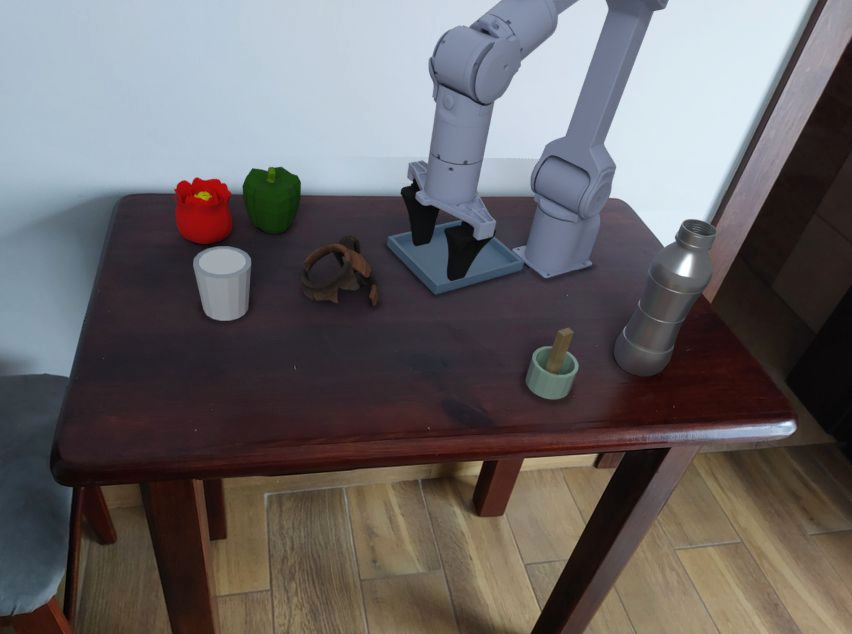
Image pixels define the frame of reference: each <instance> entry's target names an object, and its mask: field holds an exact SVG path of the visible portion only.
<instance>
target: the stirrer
mask: <svg viewBox="0 0 852 634" xmlns="http://www.w3.org/2000/svg"><path fill="white" fill-rule="evenodd" d="M574 333H575V332H574V331H573V330H572V329H571V328H570V327H565V328H562V329H559V330H557V332H556V335H555V338H554V341H553V344H552V346H553V347H552V350H551V353H550V355H549V358H548V361H547V364H546V367H545V370H546V371H547V372H549V373H552V374H557V375H559V372H560V370H561V367H562V364H563V361H564V359H565V356H566V353H567V351H568V350H569V348H570V344H571V342H572V339H573V336H574Z"/></svg>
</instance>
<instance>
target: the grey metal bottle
mask: <svg viewBox="0 0 852 634" xmlns="http://www.w3.org/2000/svg"><path fill="white" fill-rule="evenodd" d="M717 229H718V228H716V227H715V226H714V225H712V224H710V223H709V222H707V221H706V220H705V221H704V220H701V219H696V218H688V219H684V220H683V221H682V222H681V224H680V226H679V228H678V230H677V232H676V233H675V235H674V241H673V242H671V243H669V244H667V245H665V246H664V247H662V248H661V249H659V251H657V253H656V254H654V256H653V257H652V258H651V261H650V264H649V266H648V270H647V275H646V279H645V282H644V287H643V290H642V292H641V294H640V298H639V301H638V303H637V306H636V308H635V310H634V312H633V314H632V315H631V317H630V319H629V320H628V322H627V324H626V326H624V328H623V329H622V330H621V332H620V333H619V335H618V336H617V338H616V340H615V342H614V348H613V356H614V359H615V362H616V363H617V365H618V366H619V367H620V368H621V369H622V370H623V371H625V372H627V373H629V374H631V375H633V376H638V377H642V378H643V377H644V378H645V377H653V376H655V375H657V374H659V373H661V372H662V371H663V370H664V369H665V368H666V367H667V366H668V364H669V363H670V361H671V359H672V356H673V352H674V347H675V343H676V341H677V338H678V335H679V333H680V330H681V327H682V325H683V323H684V322H685V320H686V317H687V316H688V315H689V313H690V311H691V309H692V307H693V306H694V304H695V303H696V302H697V301H698V299H699V298H700V296H701V295H702V294H703V292H704V291H705V290H706V288H707V287H708V285H709V284H710V282H711V280H712V277H713V271H714V269H713V264H712V259H711V257H710V254H709V251H711V250H712V249H713V246H714V244H715V243H714V242H715V240H716V237H717V235H718V230H717Z"/></svg>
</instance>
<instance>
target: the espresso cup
mask: <svg viewBox="0 0 852 634" xmlns="http://www.w3.org/2000/svg"><path fill="white" fill-rule="evenodd" d="M552 347H553V345H546V346H545V345H544V346H541V347H538V348H537V349H536V350H535V351H534V352H533V353H532V356H531V358H530V362H529V365H528V367H527V370H526V374H525V379H524V380H525V385H526V386H527V387H528V389H529V390H530V391H531V392H532V393H533V394H535V395H537V396H539V397H541V398H542V399H543V398H544V399H548V400H561V399H563V398H565V397H566V396H568V395H569V393H570V392H571V390H572V387H573V385H574V382H575V379H576V377H577V374H578V371H579V366H580V364H579V362H578V360H577V358H576V357H575V356H574V355H573V354H572V353H571V352H570V351H568V350H567V353H566V356H565V359H564V361H563V364H562V367H561V370H560V372H559V375H557V374H552V373H549V372H547V371H546V370H545V367H546V364H547V361H548V358H549V355H550V353H551V350H552Z"/></svg>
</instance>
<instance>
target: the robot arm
mask: <svg viewBox="0 0 852 634" xmlns="http://www.w3.org/2000/svg"><path fill="white" fill-rule="evenodd" d="M579 1H580V0H499V2H497V3H496V4H495V5H494V6H492V8H490V9H489V10H488V11H486V12H485V13H484V14H483V15H481V16H479V18H477V19H476V20H475V21H473V23H471V24H470V25H469V26H467V25H457V26H454V27H453V28H450V29H448V30H446V31H445V32H444V33H442V35H441V36H440V37H439V39H438V40H437V42H436V44H435V46H434V49H433V51H432V55H431V56H430V57H428V64H427V65H428V74H429V77H430V79H431V81H432V84H433V88H432V89H433V90H432V96H431V97H432V98H433V102H434V103H435V109H434V117H433V125H432V131H431V140H430V145H429V153H428V159H427V162H426V161H424V160H423V159H422V160H417V161H411V162H408V165H407V166H408V167H407V175H406V178H407V179H408V180H409V181H410V182H411V183H410V185H406V186H403V187H401V189H400V195H401V197H402V199H403V202H404V205H405V207H406V211H407V215H408V219H409V224H410V231H411V233H412V240H413V244H414V245H415V246H421V245H425V244H429V243H430V241H431V239H432V236H433V232H434V228H435V226H436V225H437V224H436V223H437V220H438V216H439V213H440V210H441V211H443V212H445V213H446V214H449V215H451V216H453V217H455V218H457V219H458V220H462V222H461V226H460V225H458V226H453V227H449V228H445V229H444V233H445V236H446V239H447V244H448V264H447V278H448V279H449V280H450V281H454V280H458V279H462V278H464V277H465V276H466V274H467V272H468V270H469V268H470V266H471V264H472V263H473V261H474V259H475V258H476V256H477V255H478V253H479V252H480V251H481V250H482V248H483V247H484V246H485V245H486V244H487V243H488V242H489V241H490V240H491V239H492V238H493V237H496V232H497V229H496V225H497V220H495V218H494V217H492V215H491V214H490V213H489V210H488V209H487V207H486V206H485V203H484V202H483V200H482V198H481V196H480V194H479V192H478V186H479V181H480V176H481V172H482V167H483V161H484V156H485V151H486V147H487V143H488V137H489V132H490V127H491V122H492V116H493V112H494V107H495V101H497V100H498V99H500V98H502V97H503V95H504V94H505V92H506V91H507V90H508V88H509V87H510V84H511V82H512V80H513V79H514V76H515V75H516V74H517V73H518V72H519V70H520V68H521V67H522V62H523V60H525V59H526V58H527V57H528V56H529V55H531V54H532V53H533V52H534V51H535V50H537V49H538V48H539V47H541V46H542V45H543V44H544V43H545V42H546V41H547V40H548V39H550V37H552V36H553V35H554V33H555V32H556V30H557V27H558V23H559V22H558V21H559V15H560V14H562V13H563V12H565V11H567V9H569V8H570V7H572V6H573V5H575V4H576V3H578V2H579ZM605 2H606V5H607V9H608V10H607V13H606V16H605V19H604V22H603V25H602V27H601V31H600V33H599V36H598V40H597V43H596V45H595V48H594V51H593V54H592V57H591V60H590V63H589V66H588V68H587V72H586V75H585V78H584V80H583V84H582V86H581V88H580V92H579V95H578V98H577V101H576V103H575V107H574V110H573V112H572V115H571V119H570V122H569V125H568V126H567V130H566V133H565V136H562V137H559V138H555V139H553V140H551V141H549V142H548V143H547V144H545V146H544V149H543V151H542V153H541V155H540V158H539V159H538V161H537V162H536V163H535V165H534V167H533V169H532V171H531V174H530V181H529V182H530V185H529V186H530V190H531V192H532V193H534V198H533V202H535V203H537V205H536V209H535V212H534V217H533V219H532V224H531V226H530V231H529V234H528V238H527V242H526V244H525V245H521V246H517V247H514V248H512V249H511V251H512V252H513V253H515V254H516V255H517V256H518V257H519V258H521V259H522V260H523V261H524V264H525V265H526V266H527V267H529V268H530V269H533V270H534V271H535V272H536V273H538V274H539V275H540V276H541V277H542V278H544V279H549V278H552V277H555V276H559V275H562V274H566V273H569V272H573V271H579V270H582V269H583V270H584V269H586V268H590V267H592V266H593V262H592V261H591V260H590V257H591V254H592V251H593V248H594V246H595V243H596V241H597V237H598V234H599V231H600V228H601V214H600V212H601V211H602V210H603V209H604V207H605V206H606V204H607V202H608V201H609V200H610V199H609V198H610V197H611V194H612V189H613V180H614V177H615V174H616V170H617V165H616V162H615V161H614V158H613V157H612V155H611V154H610V153H609V151H608V149H607V148H606V146H605V142H606V139H607V136H608V133H609V132H610V129H611V125H612V123H613V121H614V118H615V115H616V114H617V110H618V108H619V105H620V102H621V99H622V97H623V94H624V92H625V90H626V86H627V84H628V81H629V79H630V76H631V74H632V70H633V68H634V66H635V64H636V63H635V62H636V60H637V57H638V55H639V52H640V49H641V47H642V45H643V43H644V42H643V41H644V39H645V36H646V34H647V31H648V28H649V26H650V24H651V20H652V17H653V16H654V13H655V12H657V11H662V10H665V9H666V8H667V6H668V3H669V0H605Z"/></svg>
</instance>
